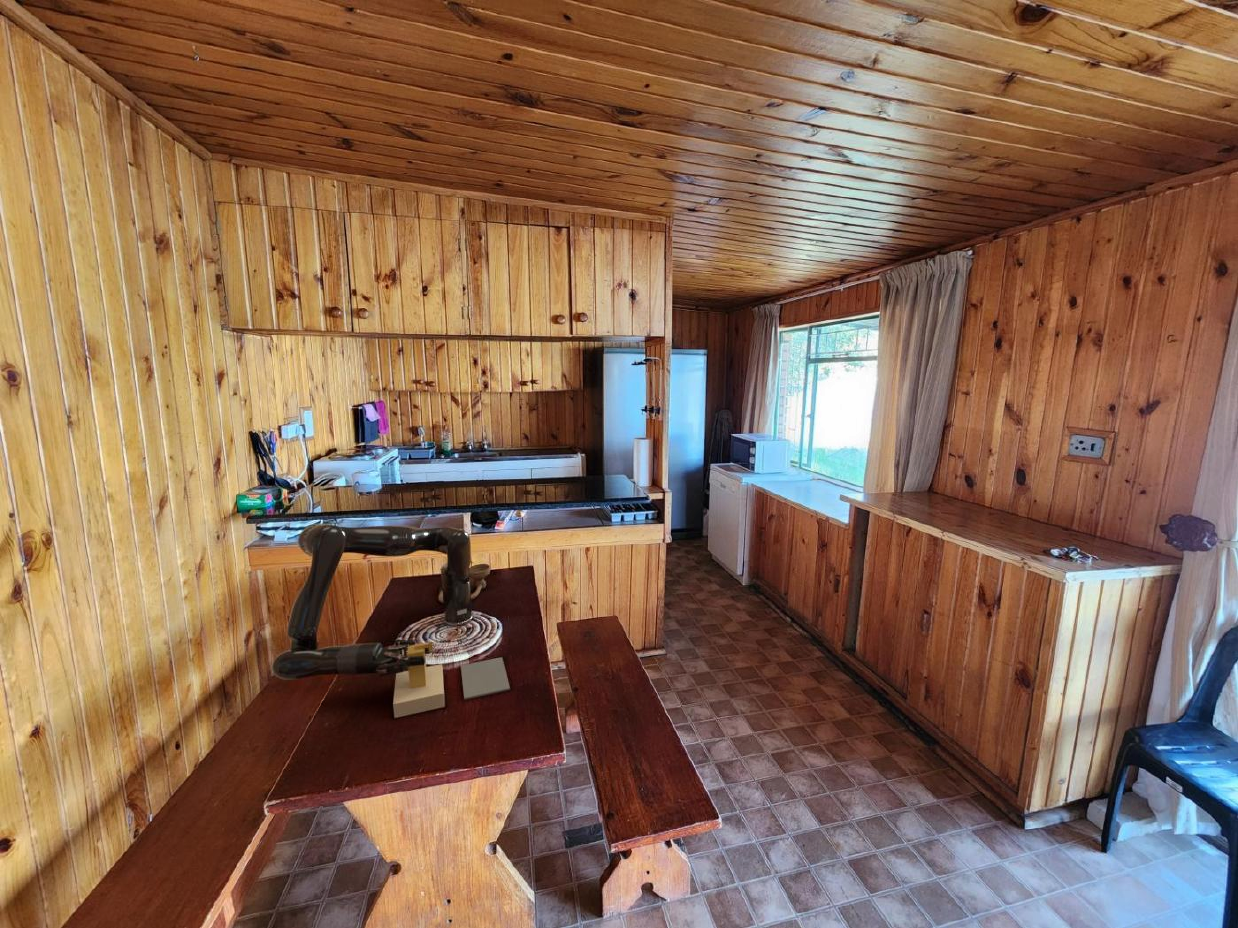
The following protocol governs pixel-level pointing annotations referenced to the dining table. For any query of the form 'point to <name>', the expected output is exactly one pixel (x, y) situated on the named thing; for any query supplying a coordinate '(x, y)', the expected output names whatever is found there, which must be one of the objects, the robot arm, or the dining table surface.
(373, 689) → the dining table surface
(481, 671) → the left mat
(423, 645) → the golden block with ridge
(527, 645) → the dining table surface
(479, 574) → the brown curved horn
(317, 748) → the dining table surface
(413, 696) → the beige rectangular block
